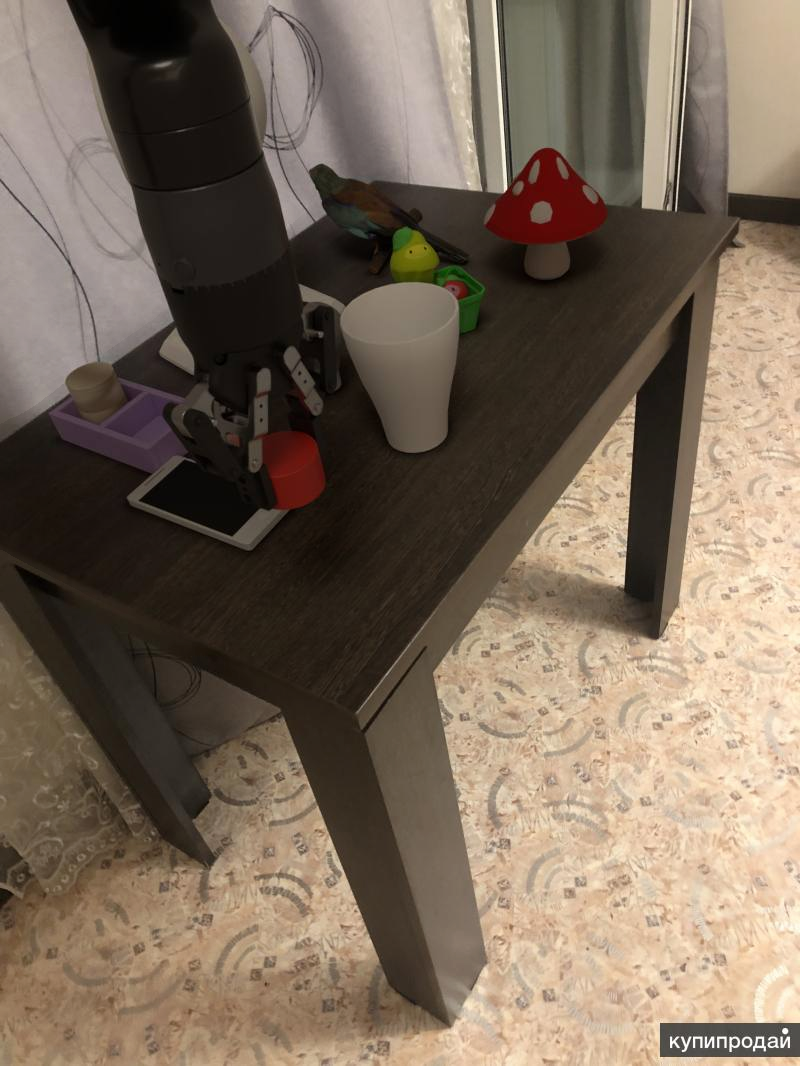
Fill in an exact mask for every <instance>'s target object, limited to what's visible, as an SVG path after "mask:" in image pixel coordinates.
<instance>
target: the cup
mask: <svg viewBox="0 0 800 1066" xmlns="http://www.w3.org/2000/svg"><path fill="white" fill-rule="evenodd" d="M340 327H341V330H342V333H343V337H344V340H345V343H344V344H345V346H346V350H347V352H348V354H349V357H350V359H351V360H352V363H353V366H354V368H355V370H356V373H357V374H358V377H359V379H360V381H361V383H362V385H363V387H364V389H365V390H366V392H367V394H368V396H369V398H370V399H371V401H372V403H373V406H374V408H375V410H376V412H377V414H378V416H379V419H380V421H381V425H382V428H383V430H384V434H385V436H386V440H387V442H388V444H389V445H390V446H391V447H392V448H393V449H395V450H397V451H399V452H402V453H409V454H417V453H424V452H427V451H431V450H432V449H435V448H436V447H438V446H440V445H441V444H442V443H443V442H444V441H445V439H446V438H447V436H448V433H449V432H448V431H449V412H448V411H449V405H450V404H449V403H450V399H451V398H450V397H451V392H452V391H451V390H452V384H453V379H454V375H455V370H456V366H457V356H458V350H459V339H460V333H459V305H458V300H457V299H456V298H455V296H454V295H453V294H452V293H451V292H449V291H448V290H446V289H445V288H443V287H440V286H437V285H433V284H428V283H420V282H404V283H390V284H386V285H382V286H379V287H376V288H373V289H371V290H368V291H366V292H364V293H362V294H360V295H359V296H357V297H356V298H354V299H352V300H351V302H349V303H348V304H347V305H345V309H344V311H343V313H342V315H341V317H340Z"/></svg>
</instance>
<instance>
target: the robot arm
mask: <svg viewBox="0 0 800 1066" xmlns="http://www.w3.org/2000/svg"><path fill="white" fill-rule="evenodd" d="M65 1H66V2H67V6H68V8H69V10H70V12H71V13H70V14H71V15H72V17H73V20H74V22H75V24H76V26H77V30H78V31H79V34H80V36H81V38H82V40H83V42H84V44H85V47H86V50H87V51H88V52H89V55H90V58H91V61H92V64H93V68H94V71H95V75H96V78H97V82H98V86H99V90H100V94H101V98H102V101H103V105H104V109H105V112H106V115H107V119H108V122H109V124H110V126H111V130H112V133H113V136H114V138H115V141H116V144H117V147H118V150H119V153H120V156H121V158H122V161H123V164H124V167H125V170H126V173H127V175H128V178H129V181H130V184H131V186H130V188H131V191H132V195H133V200H134V204H135V210H136V214H137V218H138V223H139V226H140V229H141V232H142V235H143V238H144V241H145V244H146V246H147V250H148V252H149V255H150V258H151V261H152V263H153V266H154V269H155V272H156V275H157V277H158V281H159V283H160V287H161V289H162V292H163V295H164V297H165V300H166V303H167V306H168V308H169V311H170V314H171V317H172V320H173V322H174V326H175V328H177V331H178V334H179V336H180V338H181V339H182V341H183V342H184V344H185V345H186V347H187V348H188V350H189V351H190V353H191V354H192V356H193V359H194V376H193V382H194V387H193V388H192V389H191V390H190V392H189V393H188V394H187V395H186V397H184V398H185V399H184V400H183V401H182V403H181V404H178V403H175V402H169V403H167V404H166V405H165V407H164V409H163V418H164V420H165V421H166V423H167V424H168V425H169V427H170V428H171V429H172V431H173V432H174V434H175V435H176V436H177V438H178V439H179V440H180V442H181V443H182V444H183V446H184V447H185V449H186V450H187V451H188V453H187V454H188V455H189V456H190V457H191V458H192V460H194V461H195V462H196V464H197V465H198V466H199V468H200V469H201V470H202V471H204V472H207V473H211V474H214V475H216V476H219V477H222V478H224V479H225V480H228V481H230V482H236V485H237V487H238V490H239V492H240V496H241V499H242V500H243V501H244V502H245V503H247V504H250V505H252V506H255V507H257V508H260V509H264V510H267V511H270V510H271V509H272V508H273V507H274V506H275V505H276V504H277V499H276V496H275V492H274V489H273V486H272V483H271V479H270V476H269V473H268V470H267V467H266V464H264V463H262V438H263V437H265V436H267V435H268V433H269V409H270V408H271V406H272V405H273V404H274V403H275V401H276V400H278V399H280V400H281V401H282V403H283V404H284V405H285V407H286V408H288V409H290V410H289V411H288V412H287V413H286V416H287V420H288V423H289V428H290V431H299V432H303V433H306V434H308V435H310V436H311V437H312V438H313V439H314V440H315V441H316V443H317V446H318V450H319V454H320V458H321V461H322V460H324V459H325V458H326V457H327V454H328V453H327V449H326V447H327V437H326V436H327V435H326V432H325V428H324V423H323V419H322V414H321V413H322V412H323V409H324V401H323V399H324V398H325V396H326V395H327V394H329V395H331V394H333V393H334V392H336V390H335V389H336V386H337V370H336V344H335V319H334V310H333V308H331V307H328V306H324V305H319V304H315V303H310V302H306V301H303V300H302V296H301V291H300V287H299V284H300V283H299V279H298V274H297V270H296V266H295V261H294V257H293V252H292V248H291V244H290V239H289V235H288V232H287V226H286V221H285V217H284V214H283V213H284V212H283V209H282V204H281V200H280V197H279V192H278V189H277V186H276V183H275V181H274V178H273V176H272V175H273V174H272V173H271V170H270V167H269V165H268V162H267V159H266V155H265V151H264V150H263V145H262V143H261V138H260V134H259V130H258V126H257V121H256V117H255V113H254V108H253V104H252V100H251V96H250V92H249V88H248V84H247V81H246V77H245V73H244V70H243V67H242V63H241V61H240V58H239V55H238V53H237V50H236V48H235V46H234V44H233V42H232V40H231V39H230V37H229V35H228V34H227V32H226V31H225V29H224V28H223V26H222V25H221V23H220V21H219V20H218V18H219V17H218V16H217V13H216V10H215V8H214V6H213V2H212V0H65ZM130 184H129V185H130ZM314 358H315V359H317V360H318V361H319V363H320V372H316V371H315V370H314ZM212 406H213V409H212ZM237 413H240V414H243V415H245V416H248V418H247V417H244V416H241V415H238V414H237ZM219 432H220V433H219ZM240 437H241V439H242V441H243V443H242V444H243V447H240V446H241V445H240V444H241V443H240Z"/></svg>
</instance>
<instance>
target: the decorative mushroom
mask: <svg viewBox="0 0 800 1066" xmlns="http://www.w3.org/2000/svg"><path fill="white" fill-rule="evenodd" d="M608 213H609V210H608V208H607V206H606V203H605V201H604V199H603V197H601V195H600V194H599V192H598V191H597V190H596V189H595V188H594V187H592V186H590V185H589V184H588V183H587V182H586V180H584V179H583V178H582V177H581V176H580V175H579V174H578V172H577V170H576V168H574V167H573V166H572V165H571V164H570V163H569V162H568V160H567V159H566V158H565V156H564V155H562V153H561V152H559V151H558V150H556V149H555V148H553V147H543V148H541V149H538V150H537V151H535V152H534V153H533V154H532V156H531V157H530V158H529V159H528V161H527V162H526V164H525V165H524V167H523V168H522V170H521V171H518V172H517V173H516V174H515V176H514V177H513V179H512V183H510V185H509V187H508V188H507V189H506V190H505V191H504V192H503V193H502V194H501V196H500V197H498V199H496V201H495V202H494V203H493V204H492V205H491V206H490V208H488V210H487V212H486V213H485V215H484V219H483V226H484V228H485V229H487V230H488V231H489V232H491V233H492V234H494V235H496V236H497V237H499V238H501V239H503V240H506V241H507V242H512V243H516V244H519V245H520V244H521V245H527V247H526V251H525V255H524V262H523V267H524V271H525V273H526V274H527V275H528V276H529V277H530V278H533V279H535V280H540V281H551V280H555V279H558V278H561V277H562V276H563V275H565V273H567V272H568V270H569V269H570V265H571V257H570V256H571V255H570V252H569V249H568V244H567V243H568V242H571V241H574V240H577V239H581V238H583V237H585V236H587V235H589V234H591V233H593V232H595V231H596V230H597V229H598V228H600V227H601V226H602V225H604V223H605V222H606V220H607V219H608Z"/></svg>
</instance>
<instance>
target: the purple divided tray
mask: <svg viewBox="0 0 800 1066" xmlns="http://www.w3.org/2000/svg"><path fill="white" fill-rule="evenodd" d="M117 378H118V380H119V382H120V384H121V386H122V389H123V391H124V393H125V395H126V398H127V400H128V402H129V403H127V404H126V405H125V406H124V407H122V408H121V409H120V410H118V411H117V412H116V413H114V414H113V415H112V416H111V417H109V418H108V419H107V420H105V421H104V422H103V423H101V424H100V425H96V424H93V423H90V422H88V421H85V420H83V418H82V416H81V414H80V412H79V410H78V408H77V406H76V404H75V402H74V400H73V398H72V396H69V398H68V399H66V400H64V401H63V402H62V403H61V404H59V405H58V406H56V407H55V408H54V409H52V410H51V411H49V412H48V415H49V418H50V419H51V421H52V423H53V425H54V427H55V429H56V430H57V433H58V435H59V436H60V439H61V440H63V441H66V442H68V443H71V444H73V445H76V446H79V447H81V448H83V449H86V450H89V451H92V452H94V453H97V454H100V455H102V456H104V457H107V458H109V459H112V460H115V461H118V462H121V463H123V464H126V465H127V466H130V467H133V468H136V469H138V470H140V471H143V472H147V473H149V474H151V475H152V474H153V473H155V472H156V471H157V470H158V469H159V468H160V467H161V466H162V465H164V464H165V463H166V462H167V461H168V460H169V459H170V458H172V457H173V456H175V455H178V456H182V457H185V455H187V454H189V453H188V451H187V450H186V449H185V447H184V446H183V444H182V443H181V442H180V440H179V439H178V438H177V436H176V435H175V434H174V432H173V431H172V429H171V428H170V427H169V425H168V424H167V423H166V421H165V420H164V418H163V409H164V407H165V405H166V404H167V403H169V402H175V403H178V404H181V403H182V401H183V400H184V399H185V398H186V397H183V396H179V395H175V394H172V393H169V392H166V391H163V390H160V389H156V388H153V387H150V386H146V385H143V384H140V383H138V382H134V381H131V380H128V379H124V378H122V377H121V378H120V377H118V376H117Z"/></svg>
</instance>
